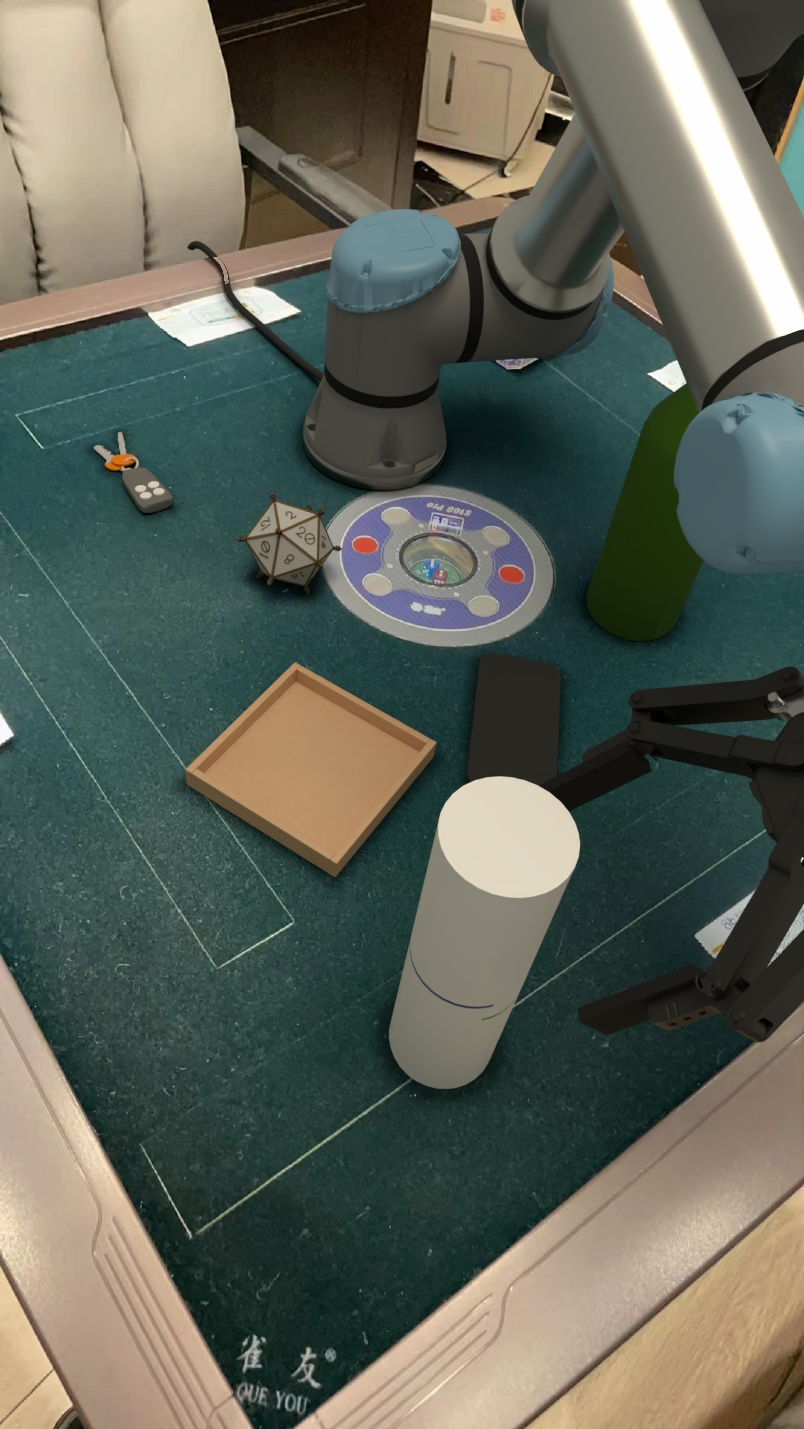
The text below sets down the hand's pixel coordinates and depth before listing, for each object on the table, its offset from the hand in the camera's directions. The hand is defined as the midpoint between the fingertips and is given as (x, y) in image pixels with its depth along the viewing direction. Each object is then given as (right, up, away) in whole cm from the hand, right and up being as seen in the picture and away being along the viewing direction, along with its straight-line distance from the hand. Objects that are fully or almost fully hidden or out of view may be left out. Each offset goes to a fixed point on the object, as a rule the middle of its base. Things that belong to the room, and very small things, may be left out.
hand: (565, 905), depth 58 cm
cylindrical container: (-6, -11, +13) cm, 19 cm away
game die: (-20, +23, +40) cm, 51 cm away
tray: (-16, +6, +26) cm, 31 cm away
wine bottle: (+13, +21, +43) cm, 49 cm away
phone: (+1, +9, +31) cm, 33 cm away
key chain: (-36, +35, +47) cm, 69 cm away
